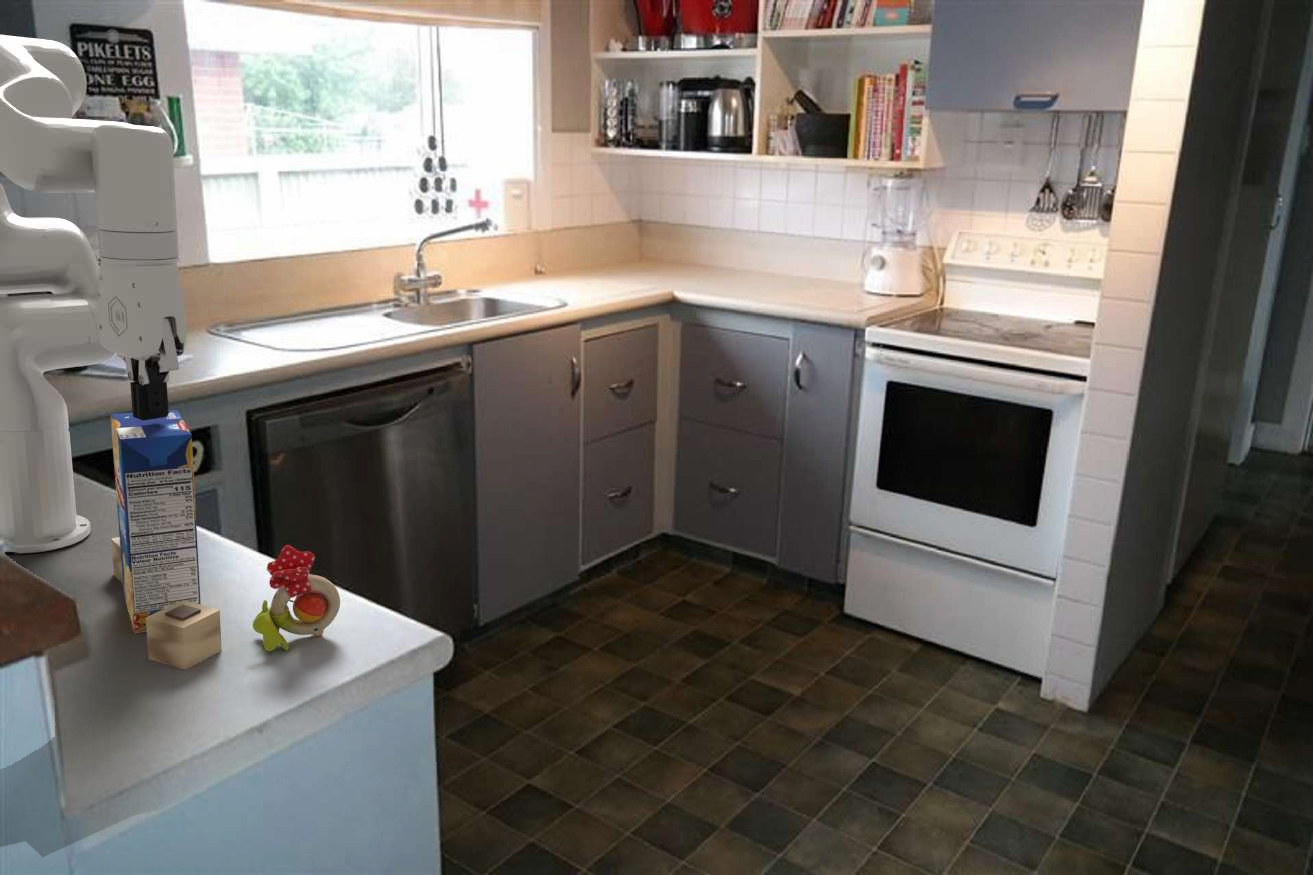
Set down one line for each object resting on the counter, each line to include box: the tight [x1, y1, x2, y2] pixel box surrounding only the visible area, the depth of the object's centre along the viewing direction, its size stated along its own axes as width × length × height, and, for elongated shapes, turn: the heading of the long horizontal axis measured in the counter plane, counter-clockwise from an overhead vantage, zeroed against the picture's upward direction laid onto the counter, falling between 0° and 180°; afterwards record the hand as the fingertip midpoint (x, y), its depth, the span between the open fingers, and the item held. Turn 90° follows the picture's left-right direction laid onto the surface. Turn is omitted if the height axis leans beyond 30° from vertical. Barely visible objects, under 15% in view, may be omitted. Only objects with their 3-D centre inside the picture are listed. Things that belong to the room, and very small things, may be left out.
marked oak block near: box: [146, 600, 222, 670], centre depth 112 cm, size 5×5×5 cm
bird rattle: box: [252, 544, 341, 652], centre depth 117 cm, size 6×11×9 cm
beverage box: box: [110, 409, 202, 633], centre depth 120 cm, size 7×11×22 cm, turn 31°
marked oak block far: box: [110, 536, 123, 584], centre depth 130 cm, size 5×5×5 cm
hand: (151, 416), depth 117 cm, fingers closed
